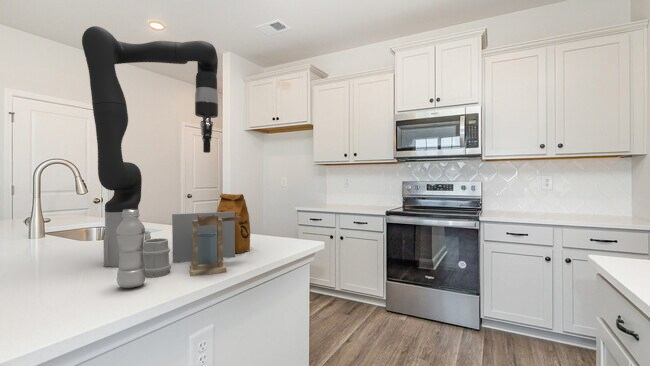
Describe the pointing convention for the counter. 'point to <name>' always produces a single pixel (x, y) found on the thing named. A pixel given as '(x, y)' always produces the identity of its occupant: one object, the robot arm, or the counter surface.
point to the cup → (206, 248)
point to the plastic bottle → (131, 250)
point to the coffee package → (241, 226)
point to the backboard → (184, 231)
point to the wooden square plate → (214, 219)
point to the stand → (220, 265)
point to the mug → (155, 256)
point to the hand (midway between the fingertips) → (206, 152)
